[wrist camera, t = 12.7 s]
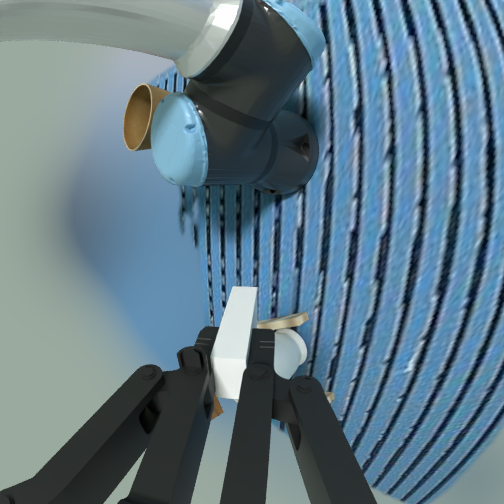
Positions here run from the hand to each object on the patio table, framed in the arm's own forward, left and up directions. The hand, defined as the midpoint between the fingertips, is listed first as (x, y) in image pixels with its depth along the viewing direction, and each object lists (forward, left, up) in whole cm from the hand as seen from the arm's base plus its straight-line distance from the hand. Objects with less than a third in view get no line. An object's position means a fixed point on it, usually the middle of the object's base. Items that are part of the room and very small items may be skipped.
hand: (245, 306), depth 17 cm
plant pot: (-47, -13, -28) cm, 57 cm away
